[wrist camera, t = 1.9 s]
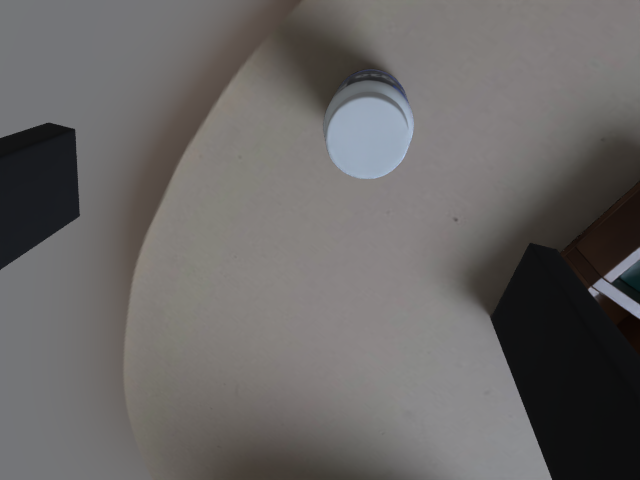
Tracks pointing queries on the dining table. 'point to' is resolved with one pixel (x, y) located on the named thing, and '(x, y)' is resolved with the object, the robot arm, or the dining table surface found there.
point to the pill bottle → (368, 124)
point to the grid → (613, 263)
